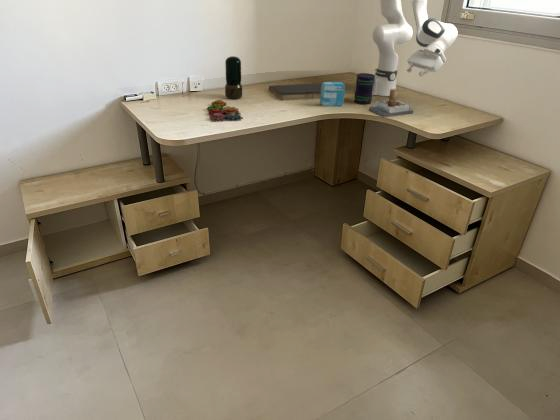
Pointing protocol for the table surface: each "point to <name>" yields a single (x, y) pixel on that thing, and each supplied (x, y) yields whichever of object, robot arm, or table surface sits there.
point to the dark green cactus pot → (233, 78)
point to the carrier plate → (390, 108)
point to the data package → (332, 93)
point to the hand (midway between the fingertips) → (414, 73)
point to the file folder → (297, 91)
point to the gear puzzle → (223, 112)
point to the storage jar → (364, 88)
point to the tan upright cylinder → (392, 97)
